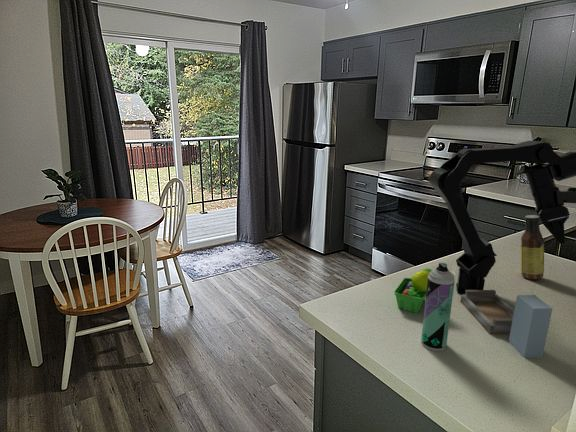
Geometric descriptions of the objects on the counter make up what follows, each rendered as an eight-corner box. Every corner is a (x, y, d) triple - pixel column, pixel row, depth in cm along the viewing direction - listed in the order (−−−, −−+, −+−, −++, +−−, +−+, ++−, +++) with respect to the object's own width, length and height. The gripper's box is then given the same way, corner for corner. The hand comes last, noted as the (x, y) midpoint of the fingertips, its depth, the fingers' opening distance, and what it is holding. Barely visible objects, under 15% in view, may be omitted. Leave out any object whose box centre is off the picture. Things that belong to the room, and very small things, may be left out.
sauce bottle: (548, 279, 120) (550, 217, 116) (528, 281, 120) (529, 220, 116) (535, 271, 127) (537, 213, 122) (516, 273, 127) (517, 215, 122)
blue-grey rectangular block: (508, 341, 90) (517, 295, 87) (525, 341, 90) (534, 294, 87) (524, 357, 84) (533, 308, 81) (542, 357, 84) (552, 308, 81)
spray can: (426, 334, 93) (434, 257, 87) (449, 343, 89) (459, 263, 84) (417, 345, 88) (425, 264, 83) (441, 354, 85) (451, 271, 80)
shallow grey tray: (460, 301, 108) (461, 289, 107) (495, 301, 108) (497, 289, 107) (489, 333, 93) (491, 320, 92) (530, 333, 93) (533, 320, 92)
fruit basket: (403, 292, 114) (406, 256, 111) (434, 300, 109) (438, 263, 106) (392, 309, 104) (395, 271, 101) (425, 318, 100) (430, 278, 97)
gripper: (583, 177, 93) (604, 239, 92) (572, 176, 109) (590, 229, 108) (531, 190, 99) (550, 249, 98) (528, 188, 115) (544, 238, 114)
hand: (560, 240), depth 104 cm, fingers open, 9 cm apart
